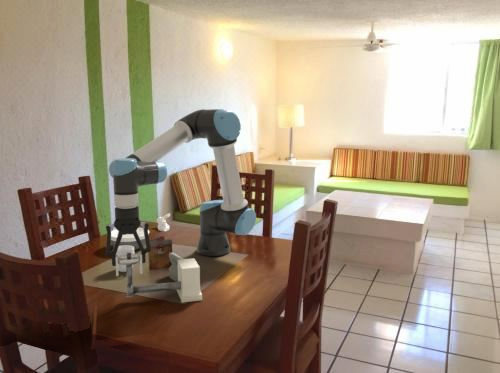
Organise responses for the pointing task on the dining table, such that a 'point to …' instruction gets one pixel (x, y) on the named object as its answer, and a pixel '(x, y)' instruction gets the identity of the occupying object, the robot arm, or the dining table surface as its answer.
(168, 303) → the dining table surface
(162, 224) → the rabbit figurine
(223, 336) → the dining table surface
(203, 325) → the dining table surface
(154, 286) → the l-shaped grey rod
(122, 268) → the mug
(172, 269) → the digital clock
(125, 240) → the bowl
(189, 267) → the white upright block
